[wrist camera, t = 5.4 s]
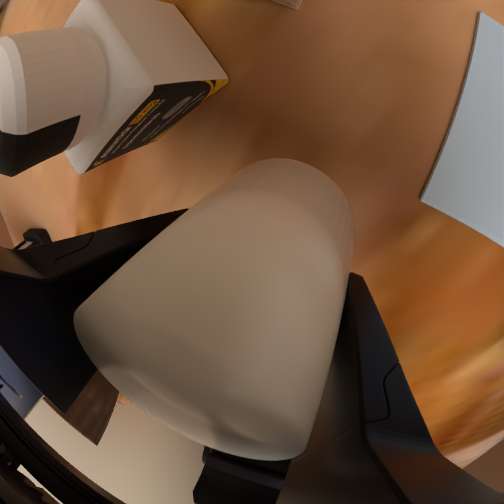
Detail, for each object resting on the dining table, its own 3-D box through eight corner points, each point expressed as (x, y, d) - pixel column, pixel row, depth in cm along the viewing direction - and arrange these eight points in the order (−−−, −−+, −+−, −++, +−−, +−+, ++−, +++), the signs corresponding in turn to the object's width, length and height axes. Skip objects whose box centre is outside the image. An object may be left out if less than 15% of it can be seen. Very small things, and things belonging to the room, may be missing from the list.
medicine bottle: (156, 141, 18) (3, 223, 9) (111, 70, 16) (-39, 113, 7) (233, 80, 14) (34, 119, 5) (175, 2, 12) (-8, -6, 3)
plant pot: (99, 376, 60) (64, 419, 48) (74, 339, 52) (31, 388, 40) (143, 402, 56) (107, 453, 43) (120, 368, 47) (74, 428, 35)
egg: (325, 301, 11) (267, 471, 6) (212, 255, 12) (104, 387, 7) (377, 191, 8) (366, 412, 3) (230, 140, 9) (43, 253, 4)
